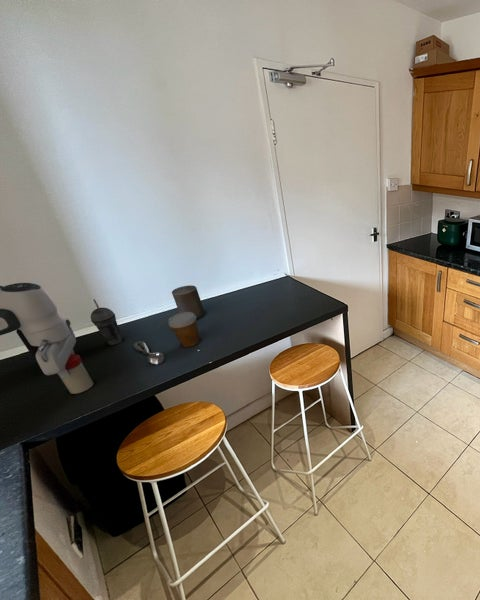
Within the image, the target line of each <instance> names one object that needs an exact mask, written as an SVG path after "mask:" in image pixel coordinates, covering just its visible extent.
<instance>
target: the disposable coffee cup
mask: <svg viewBox="0 0 480 600" xmlns="http://www.w3.org/2000/svg"><path fill="white" fill-rule="evenodd" d="M196 318H197V317H196V315H194V313H191V312H184V313H179V312H178V313H176V314H174V315H172V316H171V317H169V318H168V323H167V325H168V326H169V327H170V328H171V330H172V331H173V333H174V335H175V337H176V338H177V340H178V341H179V343H180V345H181V346H182V347H183V348H190V347H194V346H196V345H197V344H199V343H200V341H201V340H200V335H199V328H198V324H197V323H198V322H197V319H196Z"/></svg>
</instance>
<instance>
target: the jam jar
mask: <svg viewBox="0 0 480 600" xmlns="http://www.w3.org/2000/svg"><path fill="white" fill-rule="evenodd" d="M69 372H70V376H69V377H68V378H64V379H63V378H61V376H60V375H59V374H57V375H58V377H59V378H60V380H61V381H62V383H63V385H64V386H65V388H66V389H67V390H68V392H69V393H70V394H71V395H72V394H73V395H76V394H81V393H84V392H85V391H88V390H90V389H91V388H92V387H93V386H94V384H95V383H94V381H93V379H92V377H91V376H90V374H89V372H88V370H87V369H86V368H85V365H84V364H83V361H82V362H81V363H80V364H79V365H78V366H76V367H74V368H72V369H70V370H69Z"/></svg>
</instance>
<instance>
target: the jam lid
mask: <svg viewBox="0 0 480 600" xmlns="http://www.w3.org/2000/svg"><path fill="white" fill-rule="evenodd" d="M81 362H82V363H83V359H82V358H81V356H80V355H79V354H78V353H77V354H72V355H70V356H69V358H68V361H67V363H66V365H65V369H66V370H70V369H72V368H74V367H76V366H78V365H79V364H80V363H81Z"/></svg>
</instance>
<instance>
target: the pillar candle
mask: <svg viewBox="0 0 480 600" xmlns="http://www.w3.org/2000/svg"><path fill="white" fill-rule="evenodd" d="M171 294H172V298H173V300H174V303H175V305H176V308H177V310H178V314H179V313H184V312H191V313H194V315H196V317H197V318H196V320H198V319H200V318H202V317H204V316H205V314H206V312H205V310H204V306H203V302H202V300H201V297H200V293H199V291H198V288H197V287H196V286H195V285H192V284H191V285H183V286H182V285H181V286H179V287H177V288H174V289H173V290H172V291H171Z"/></svg>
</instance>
